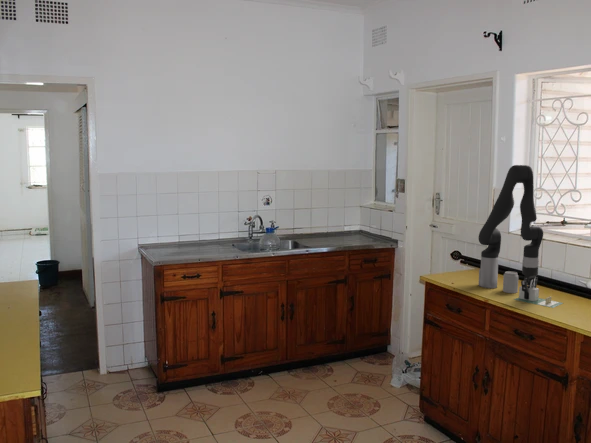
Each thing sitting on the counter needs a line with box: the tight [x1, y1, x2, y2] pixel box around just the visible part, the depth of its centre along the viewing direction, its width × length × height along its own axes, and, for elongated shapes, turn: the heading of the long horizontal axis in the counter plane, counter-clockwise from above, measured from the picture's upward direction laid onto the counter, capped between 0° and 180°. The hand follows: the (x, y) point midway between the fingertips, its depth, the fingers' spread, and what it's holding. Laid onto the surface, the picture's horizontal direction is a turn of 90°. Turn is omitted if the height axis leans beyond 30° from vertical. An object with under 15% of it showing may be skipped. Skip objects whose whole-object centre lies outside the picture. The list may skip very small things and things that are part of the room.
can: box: [502, 270, 519, 294], centre depth 299 cm, size 8×8×12 cm
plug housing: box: [518, 286, 540, 302], centre depth 283 cm, size 8×4×6 cm, turn 42°
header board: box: [513, 295, 564, 309], centre depth 280 cm, size 20×12×4 cm, turn 42°
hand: (528, 298), depth 284 cm, fingers closed on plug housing, 4 cm apart
